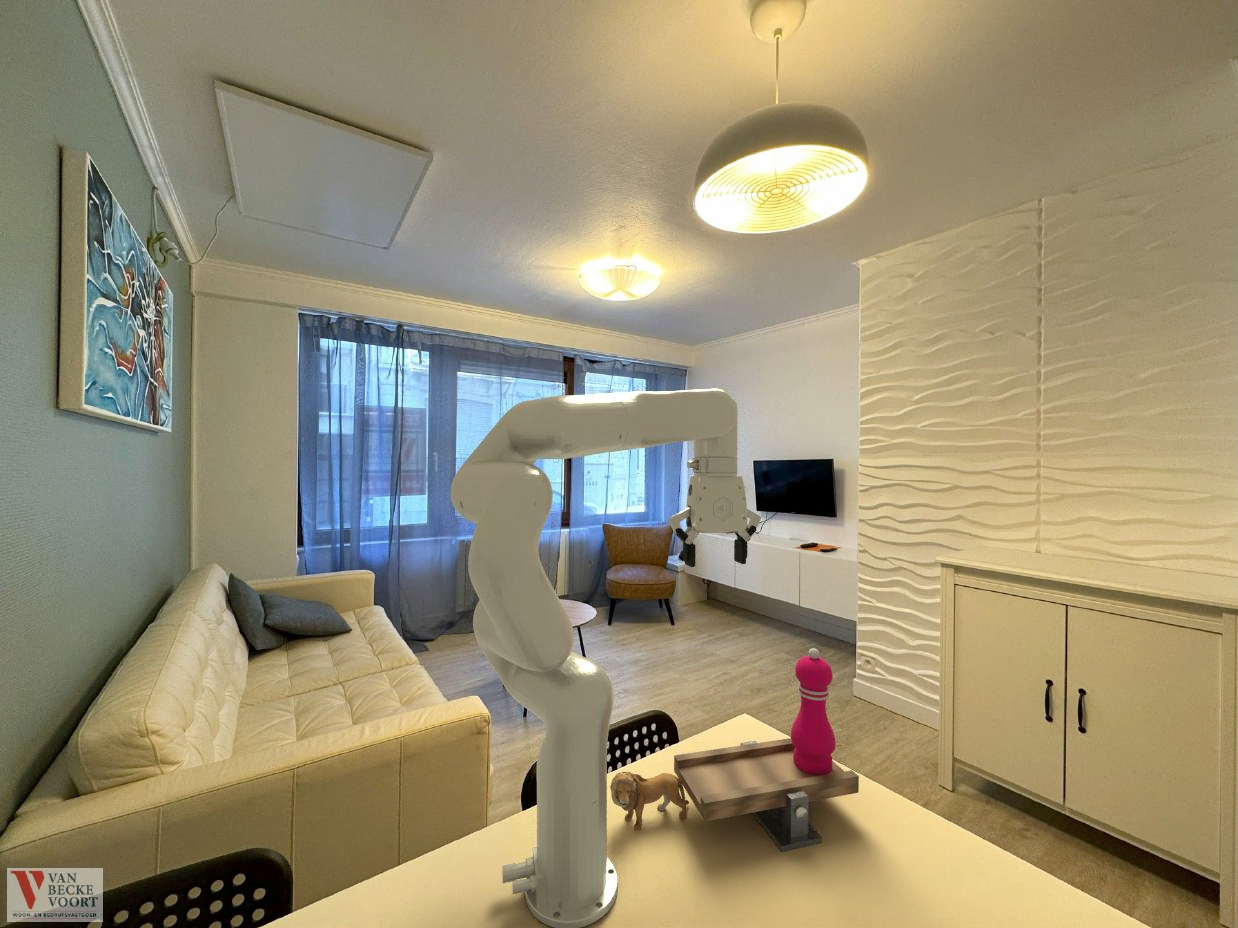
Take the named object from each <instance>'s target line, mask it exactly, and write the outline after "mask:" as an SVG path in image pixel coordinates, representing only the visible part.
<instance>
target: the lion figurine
mask: <svg viewBox="0 0 1238 928" xmlns="http://www.w3.org/2000/svg"><path fill="white" fill-rule="evenodd" d="M609 788H610V792H611V795H610V796H611V800H612V802H613V804H614V805H616V806H618V807H621V808H622V810H623V811H625V812H626V811H627V813H626V814H625V815H624V820H625V821H626V822H630V821H631V820H632V819H633V816H634V814H635V823H634V825H633V829H634V831H639V832H640V831H641V830H642V828H643V812H644V809H645V805H648V804H653V803H655V802H657V801H659V800H660V799H661V798H662V797H663V802H662V803H659V804H657V809H658V810H659V811H661V812H662V811H664V810H666V808H667V807H668V805H669V804H670V803H672V804H673V805H674V806H677V807H679V808H680V809H682V810H681V811H679V814H678V817H679V818H680V819H686V818H687V817H688V810H687V806H688V805H689V804H690V801H689V800H687V799H686V795H685V794H686V793H685V788H684V787H683V785H682V783H681V781H680V780H679V778H678V777H677V775H676V774H675V775H674V774H672V773H669V772H662V773H660V774H658V775H656V776H653V777H649V778H644V777H642V775H640V774H638V773H633V772H630V771H622V772H618V773H616V774H615V776H614V777H613V778H612V779H611V783H610V787H609Z"/></svg>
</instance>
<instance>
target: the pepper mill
mask: <svg viewBox="0 0 1238 928" xmlns="http://www.w3.org/2000/svg"><path fill="white" fill-rule="evenodd" d="M794 671H795V672H794V673H795V677H796V679H797V680H798V681H799V682H798V684H797V687H798V689H797V692H798V694H799V695H800V708H799V710H798V711H799V712H798V713H797V715H796V718H795V720H794V721H793V723H792V727H791V729H790V738H791V741H792V743H793V745H794V746H795V749H794V751H793V761H794V764H795V765H796V766H797V767H798V768H799V769H800V770H802V771H804V772H806V773H809V774H813V775H826V774H828V773H830V772H831V770H832V761H833V756H832V754H833V753H834V751H835V750H836V746H837V745H836V737H835V734H834V733H835V732H834V730H833V728H832V725H831V723H830V721H829V718H828V714H827V707H826V705H827V700H828V699H829V698H830V694H829V693H830V688H829V685H830V684H831V683H832V681H833V678H834V677H833V670H832V667H831V666H830V664H829V663H828V662H827V661H826V660H825V659H824V658H821V657H820V652H819V649H817V648H815V647H813V648H810V649H809V650H808V655H806V656H803V657H801V658H800V659H798V660H797V661H796V665H795V669H794Z"/></svg>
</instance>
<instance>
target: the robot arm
mask: <svg viewBox="0 0 1238 928" xmlns="http://www.w3.org/2000/svg"><path fill="white" fill-rule="evenodd" d="M738 415H739V414H738V403H737V401H736V399H733V397H732V396H731V395H730V394H729V393H728V392H726V391H724V390H723V389H719V388H709V389H708V388H705V389H687V390H674V391H673V390H671V391H630V392H629V391H627V392H624V391H623V392H610V393H589V394H586V393H585V394H571V395H570V394H568V395H555V396H554V395H553V396H548V397H542V398H541V397H540V398H536V399H530V400H523V401H521V402H519V403H516V404H515V405H513V406H512V407H511V408H509V409H508V410H507V412H505V413H504V415H502V417H500V419H499V420H498V421H497V422H496V424H495V425H493V427H492V428H491V429H490V431H489V432H488V433H487V434H486V435H485V437H484V438H483V439H482V441H480V443H479V444H478V445H477V447H476V448H475V449H474V450H473V451H472V453H470V455H469V456H468V457H467V458H466V460H465V461H464V462H463V464H462V465H461V466H460V467H459V468H458V469H457V472H456V473H455V475H454V478H453V479H452V482H451V487H450V499H451V504H452V505H453V508H454V510H455V511H456V513H458V515H460V517H461V518H463V519H465V520H466V521H468V522H471V523H473V524H476V526H475V528H474V532H473V536H472V539H471V542H470V548H469V552H468V562H467V564H468V565H467V568H468V575H469V578H470V582H471V584H472V587H473V589H474V591H475V593H476V594H477V597H478V599H479V600H478V602H477V604H476V606H475V609H474V611H473V618H472V625H473V626H472V629H473V632H474V634H473V635H474V636H475V640H476V641H477V643H478V645H479V647H480V649H481V651H482V652H483V655H484V656H485V657H486V659H487V661H488V662H489V664H490V666H491V667H492V669H493V670H494V672H495V673H496V675H497V677H498V678H499V680H500V682H501V683H502V685H503V686H504V688H505V689H506V691H507V692H508V693H509V694H510V696H511V697H512V698H513V699H514V700H515V701H516V702H517V703H518V704H519V705H521V706H522V707H523V708H525V709H526V710H528V711H529V712H531V713H533V714H534V715H535V716H536V717H537V718H538V719H539V720H541V721H543V723H544V726H545V734H544V738H543V740H542V742H541V744H540V747H539V749H538V753H537V758H536V759H537V760H536V847H535V846H534V847H533V848H532V856H531V857H527V858H526V857H525V861H522V862H518V863H510V864H503V865H502V868H501V870H502V871H501V873H502V874H501V875H502V884H507V883H511V885H512V886H511V887H512V895H516V894H520V893H523V892H524V893H525V896H524V897H525V902H526V905H527V907H528V910H529V911H530V913H531V914H532V916H533V917H535V918H536V919H537V920H538V921H539V922H541V923H543V924H545V925H546V926H549V927H552V928H584V927H586V926H590V925H591V924H594V923H595V922H597V921H598V920H600V919H601V918H603V917H604V916H605V915H606V914H607V913H608V912H609V910H610V909H611V908H612V907H613V905H614V903H615V901H616V899H617V896H618V890H619V878H618V872H617V870H616V866H615V865H614V864H613V862H612V860H611V859H610V858H609V857H608V854H607V850H608V849H607V848H608V844H607V843H608V841H607V840H608V839H607V837H608V836H607V835H608V831H607V830H608V829H607V827H608V825H607V823H608V820H607V819H608V818H607V817H608V814H607V813H608V810H607V808H608V803H607V802H608V796H607V795H608V793H607V792H608V788H607V787H608V786H607V785H608V774H607V771H608V770H607V768H608V767H607V761H608V759H607V758H608V737H609V731H610V726H611V725H610V724H611V720H612V715H613V710H614V706H615V705H614V703H615V689H614V686H613V682H612V680H611V678H610V676H609V675H608V673H606V671H605V670H604V669H603V668H602V667H600V666H599V665H598V664H597V662H594V661H593V660H590V659H589V658H586V657H585V656H582V655H580V654H578V653H577V652H574V651H573V650H574V645H575V632H574V626H573V625H572V621H571V620H570V617H569V614H568V612H567V611H566V608H565V607H564V605H563V603H562V602H561V600H560V598H559V596H558V595H557V592H556V591H555V589H554V587H553V585H552V583H551V581H550V579H549V577H548V576H547V574H546V571H545V569H544V566H543V565H542V561H541V558H540V555H539V549H540V547H539V546H540V539H541V536H542V532H543V529H544V528H545V525H546V522H547V520H548V518H549V515H550V513H551V509H552V507H553V506H552V504H553V498H554V492H553V486H552V484H551V481H550V479H549V477H548V475H547V474H546V473H545V472H544V470H543V469H541V468H540V467H538V466H537V465H535V463H536V462H537V460H563V459H565V460H567V459H573V458H581V457H587V456H592V455H598V454H607V453H613V452H620V451H628V450H637V449H647V448H652V447H658V446H662V445H663V446H664V445H668V444H674V443H675V444H676V443H683V442H692V441H693V444H694V445H693V447H694V448H693V452H694V453H693V456H694V457H693V458H692V460H688V461H687V463H686V465H687V466H686V468H687V469H690V470H692V472H693V473H694V474H693V475H690V478H689V484H688V488H687V494H686V495H687V496H686V504H685V505H686V507H685V508H684V509H682V510H681V511H678V512H676V513H675V514H673V515H671V516H669V518H668V523H669V525H670V528H671V529H672V531H673V534H675V536H676V537H678V539H679V540H680V541H681V542H682V560H683V561H684V564H685V565H686V566H689V568H695V567H696V544H695V543H694V541H695V539H696V538H697V537H698V535H699V534H727V533H733V534H734V536H735V537H736V538H735V539H734V540H733V543H734V545H733V546H734V547H733V560H734V562H736V563H738V564H741V565H746V564H747V559H748V543H749V542H750V540H751V538H752V536H753V535H754V534H755V533H756V532H757V527H759V524H760V522H761V519H762V517H761V515H759V514H757V512H756V513H755V512H754V511H752V510H750V509H748V505H747V496H746V490H745V484H744V479H743V476H742V475H738ZM683 520H685V525H686V529H685V530H684V529H683V528H682V527H681V522H682V521H683ZM748 520H749V522H748Z"/></svg>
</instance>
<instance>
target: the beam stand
mask: <svg viewBox="0 0 1238 928" xmlns="http://www.w3.org/2000/svg"><path fill="white" fill-rule="evenodd" d="M755 743H758V742H757V741H756V740H750V741H745V742H744V741H743V742H740V745H739V746H741V745H748V744H755ZM751 814H753V816H754V817H755V819H756V820H757V821H758V823H759V824H760V825H761V827H762V828H763V829H764V831H765V832H766V833H767V834H768V836H769V837H770V838H771V840H772V841H773V843H775V845H776V846H777V847H778V849H779V850H780V852H787V851H790V850H795V849H799V848H805V847H809V846H814V845H817V844H821V843H823V837H822V836H821V835H820V834H819V832H818V831H817V830H816V829H815V828H814V827H813V826H812V824H810V822H809V802H808V795H807V794H806V793H805V792H804V791H800V792H795V793H789V794H787V806H785V807H779V808H774V809H768V810H763V811H758V812H752V813H751Z"/></svg>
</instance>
